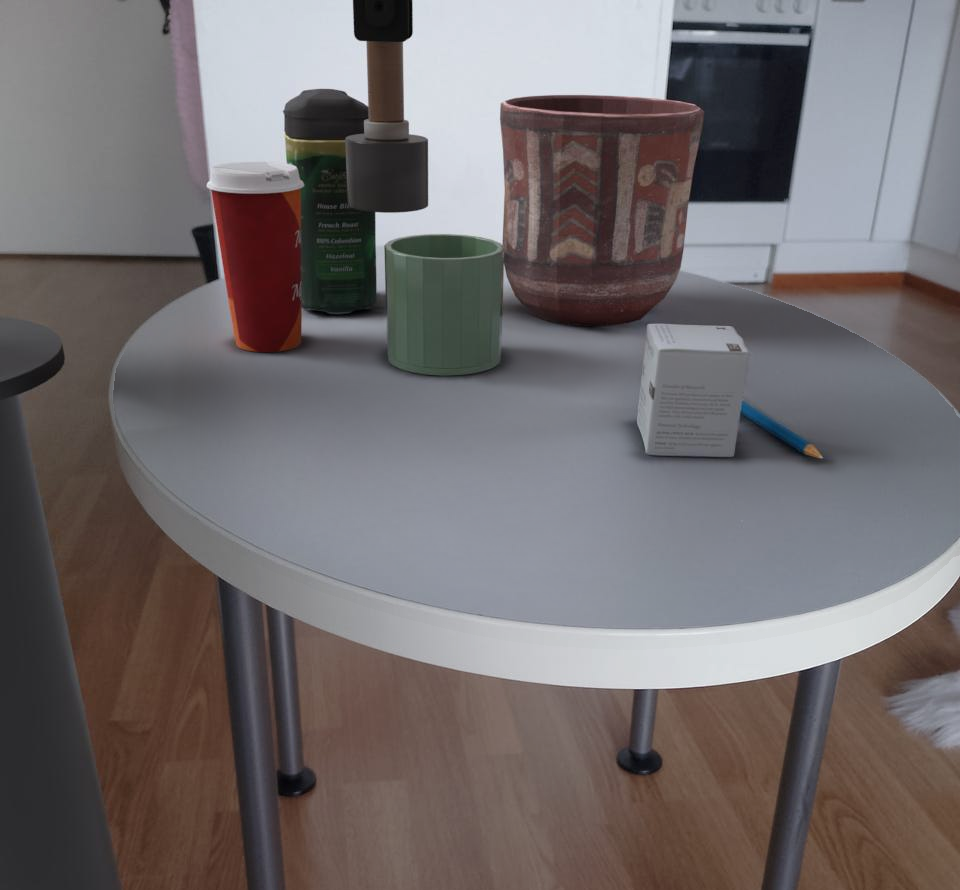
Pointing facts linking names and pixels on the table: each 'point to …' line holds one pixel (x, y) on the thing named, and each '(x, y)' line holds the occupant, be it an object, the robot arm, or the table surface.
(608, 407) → the table surface
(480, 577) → the table surface
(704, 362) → the white cardboard box
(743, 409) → the pencil
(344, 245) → the coffee jar
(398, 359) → the jar
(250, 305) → the paper cup
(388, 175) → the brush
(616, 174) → the pottery
